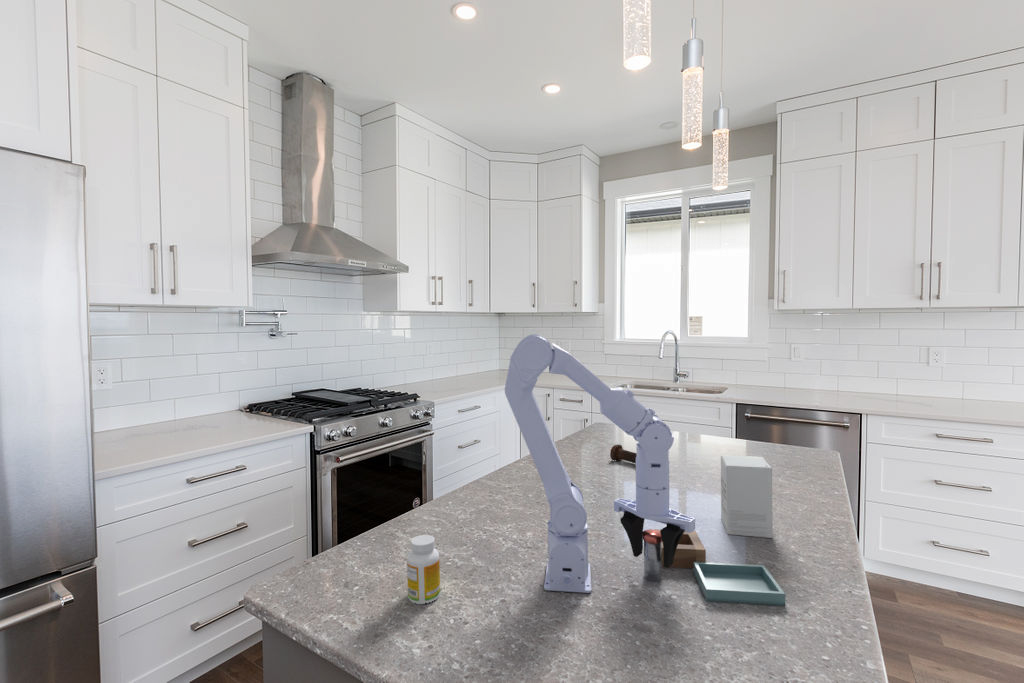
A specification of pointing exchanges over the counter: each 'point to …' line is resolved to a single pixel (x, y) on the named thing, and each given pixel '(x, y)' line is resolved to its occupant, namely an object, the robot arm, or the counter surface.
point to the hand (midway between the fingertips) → (652, 559)
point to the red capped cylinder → (652, 555)
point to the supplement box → (746, 496)
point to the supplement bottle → (423, 570)
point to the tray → (738, 583)
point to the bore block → (687, 551)
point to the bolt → (622, 454)
